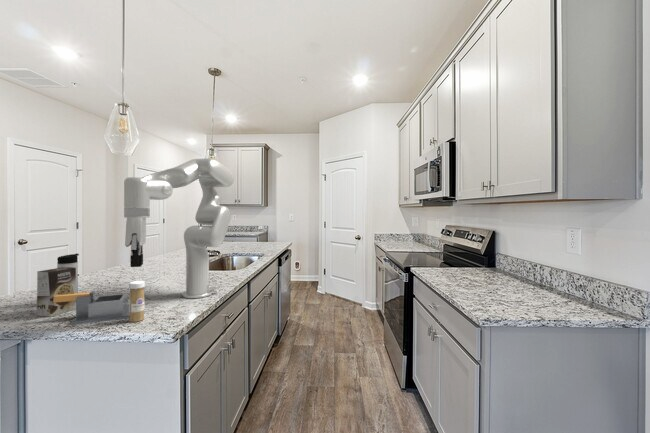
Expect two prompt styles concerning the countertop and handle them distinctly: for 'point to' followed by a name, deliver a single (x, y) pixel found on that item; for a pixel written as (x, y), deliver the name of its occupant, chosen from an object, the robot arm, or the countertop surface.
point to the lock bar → (73, 296)
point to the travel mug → (69, 264)
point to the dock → (101, 308)
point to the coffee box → (55, 290)
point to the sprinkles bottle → (136, 301)
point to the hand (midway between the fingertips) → (136, 265)
